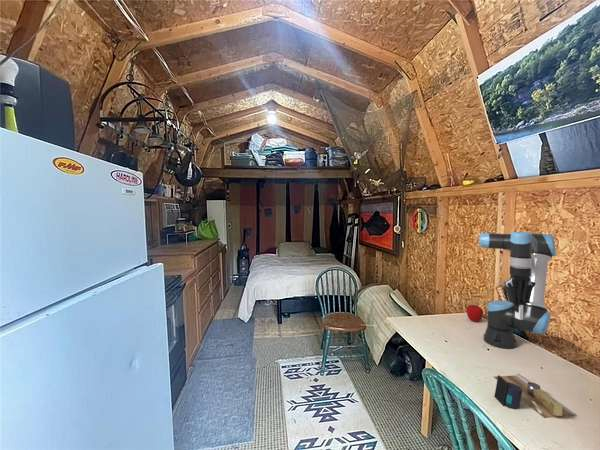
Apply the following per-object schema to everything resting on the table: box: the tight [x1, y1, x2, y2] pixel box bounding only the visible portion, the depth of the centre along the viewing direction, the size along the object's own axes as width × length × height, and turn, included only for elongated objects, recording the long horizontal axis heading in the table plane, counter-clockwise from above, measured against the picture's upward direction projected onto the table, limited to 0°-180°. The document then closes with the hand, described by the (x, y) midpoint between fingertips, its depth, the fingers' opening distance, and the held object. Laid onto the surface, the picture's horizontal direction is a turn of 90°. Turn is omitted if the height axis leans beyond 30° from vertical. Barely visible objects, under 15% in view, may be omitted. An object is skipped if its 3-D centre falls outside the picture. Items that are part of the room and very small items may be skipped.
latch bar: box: [527, 381, 563, 416], centre depth 109 cm, size 15×4×4 cm, turn 172°
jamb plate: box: [493, 373, 577, 419], centre depth 115 cm, size 12×25×2 cm, turn 3°
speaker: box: [493, 374, 523, 410], centre depth 109 cm, size 8×6×10 cm
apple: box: [465, 304, 484, 323], centre depth 190 cm, size 10×10×11 cm
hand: (518, 318), depth 128 cm, fingers closed
